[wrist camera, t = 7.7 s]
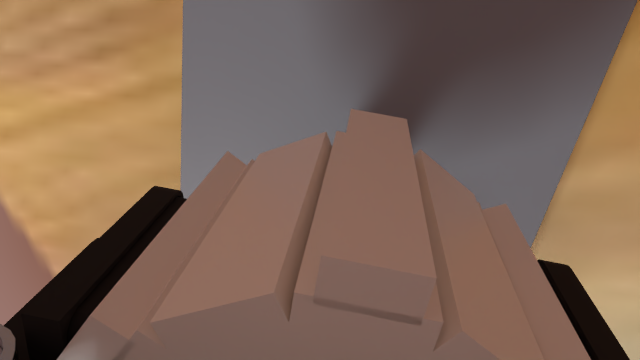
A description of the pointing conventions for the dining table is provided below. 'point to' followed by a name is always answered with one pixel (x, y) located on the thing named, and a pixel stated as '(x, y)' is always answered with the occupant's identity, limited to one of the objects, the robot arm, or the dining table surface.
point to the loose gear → (333, 265)
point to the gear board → (402, 83)
